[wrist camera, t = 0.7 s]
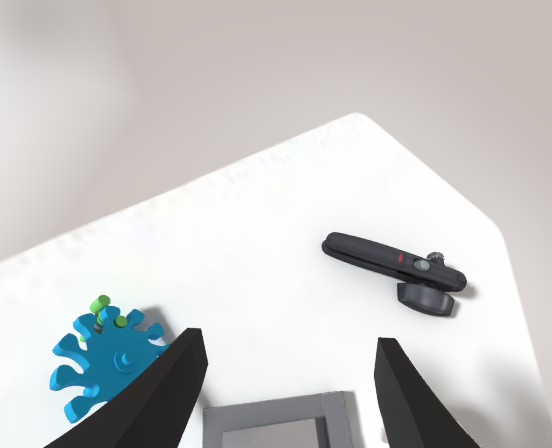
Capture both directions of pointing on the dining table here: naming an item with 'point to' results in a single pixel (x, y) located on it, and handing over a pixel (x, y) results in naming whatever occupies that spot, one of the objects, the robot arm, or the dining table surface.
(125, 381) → the gear
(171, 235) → the dining table surface
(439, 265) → the can opener
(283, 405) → the scale base
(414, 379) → the robot arm
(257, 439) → the scale pan
